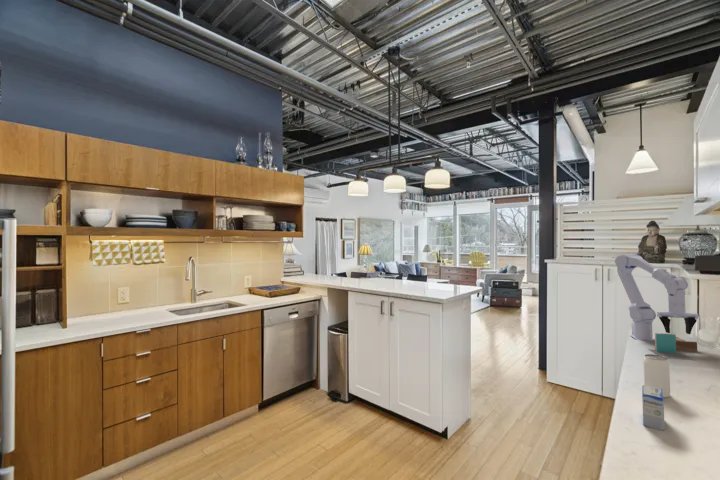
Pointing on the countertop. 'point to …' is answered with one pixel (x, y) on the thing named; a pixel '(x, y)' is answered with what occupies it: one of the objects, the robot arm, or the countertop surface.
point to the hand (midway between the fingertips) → (677, 333)
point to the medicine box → (653, 407)
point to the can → (657, 373)
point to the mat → (672, 355)
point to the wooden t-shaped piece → (685, 345)
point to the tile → (665, 342)
